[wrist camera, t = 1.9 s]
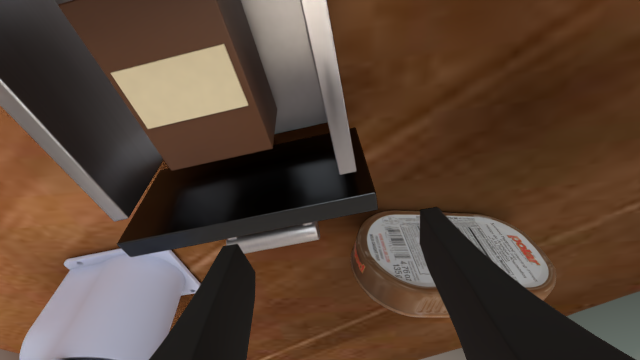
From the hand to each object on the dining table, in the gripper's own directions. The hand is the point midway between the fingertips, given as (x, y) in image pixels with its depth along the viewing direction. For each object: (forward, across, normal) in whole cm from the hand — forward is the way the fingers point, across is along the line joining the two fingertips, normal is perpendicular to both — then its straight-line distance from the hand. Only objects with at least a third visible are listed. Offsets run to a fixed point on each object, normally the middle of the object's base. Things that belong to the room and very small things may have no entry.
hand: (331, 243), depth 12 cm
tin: (+10, -8, +12) cm, 17 cm away
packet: (+8, +4, -6) cm, 11 cm away
